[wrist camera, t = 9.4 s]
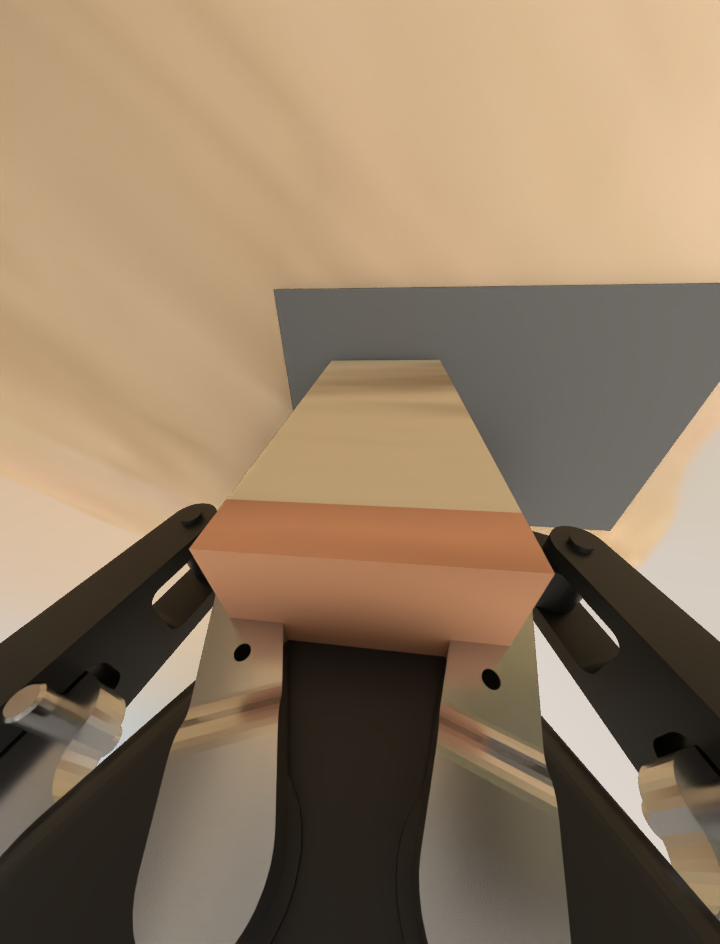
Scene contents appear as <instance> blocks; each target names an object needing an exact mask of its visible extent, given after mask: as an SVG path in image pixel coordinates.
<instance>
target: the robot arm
mask: <svg viewBox="0 0 720 944" xmlns="http://www.w3.org/2000/svg"><path fill="white" fill-rule="evenodd" d="M216 513H217V510H216V508H215V507H214V506H213V505H210V504H204V503H203V504H195V505H191V506H188V507H186V508H183V509H181V510H180V511H178V512H177V513H175V514H174V515H173V516H171V517H170V518H168V519H167V520H166V521H164V522H163V523H162V524H160V525H159V526H158V527H156V528H155V529H154V530H152V531H151V532H150V533H148V534H147V535H146V536H144V537H143V538H142V539H140V540H139V541H137V542H136V543H135V544H133V545H132V546H131V547H129V548H128V549H127V550H125V551H124V552H123V553H121V554H120V555H119V556H117V557H116V558H115V559H113V560H112V561H111V562H109V563H108V564H107V565H105V566H104V567H103V568H101V569H100V570H98V571H97V572H96V573H95V574H93V575H92V576H90V577H89V578H88V579H86V580H85V581H84V582H82V583H81V584H80V585H78V586H77V587H76V588H74V589H73V590H72V591H70V592H69V593H67V594H66V595H65V596H63V597H62V598H61V599H59V600H58V601H57V602H55V603H54V604H53V605H51V606H50V607H49V608H47V609H46V610H45V611H43V612H42V613H41V614H39V615H38V616H36V617H35V618H34V619H33V620H31V621H30V622H29V623H27V624H26V625H24V626H23V627H22V628H20V629H19V630H18V631H16V632H15V633H14V634H12V635H11V636H10V637H8V638H7V639H6V640H4V641H3V642H2V643H0V944H720V642H719V641H718V640H717V639H716V638H715V637H714V636H712V635H711V634H710V633H709V632H708V631H706V630H705V629H704V628H703V627H702V626H701V625H700V624H698V623H697V622H696V621H695V620H694V619H693V618H691V617H690V616H689V615H688V614H687V613H685V612H684V611H683V610H682V609H681V608H680V607H679V606H677V605H676V604H675V603H674V602H673V601H672V600H670V599H669V598H668V597H667V596H666V595H665V594H664V593H662V592H661V591H660V590H659V589H657V588H656V587H655V586H654V585H653V584H652V583H651V582H650V581H648V580H647V579H646V578H645V577H644V576H642V575H641V574H640V573H639V572H638V571H637V570H636V569H634V568H633V567H632V566H631V565H630V564H629V563H627V562H626V561H625V560H624V559H623V558H622V557H620V556H619V555H618V554H617V553H616V552H615V551H613V550H612V549H611V548H610V547H609V546H608V545H606V544H605V543H604V542H603V541H602V540H601V539H599V538H598V537H596V536H595V535H593V534H591V533H589V532H587V531H585V530H583V529H580V528H576V527H572V526H559V527H556V528H554V529H553V530H552V531H551V533H550V535H549V536H548V535H544V534H541V533H537V532H534V531H532V532H533V534H534V536H535V538H536V540H537V541H538V543H539V545H540V547H541V549H542V551H543V553H544V554H545V556H546V558H547V560H548V562H549V564H550V566H551V567H552V569H553V571H554V573H555V574H554V576H553V578H552V579H551V581H550V582H549V584H548V586H547V587H546V589H545V591H544V592H543V594H542V595H541V597H540V599H539V600H538V602H537V603H536V605H535V607H534V608H533V610H532V611H531V613H530V615H529V616H528V618H527V619H526V621H525V623H524V624H523V626H522V627H521V629H520V631H519V632H518V634H517V636H516V637H515V639H514V640H513V642H512V644H511V645H510V646H504V645H494V644H484V643H475V642H465V641H455V640H450V642H449V645H448V648H447V650H446V653H445V657H443V656H434V655H425V654H415V653H406V652H397V651H388V650H378V649H369V648H360V647H351V646H341V645H332V644H323V643H314V642H304V641H295V640H288V635H287V632H286V629H285V627H284V624H283V623H279V622H270V621H260V620H250V619H240V618H231V617H229V616H228V614H227V613H226V611H225V609H224V607H223V606H222V604H221V602H220V601H219V599H218V597H217V596H216V594H215V592H214V591H213V589H212V587H211V586H210V584H209V582H208V581H207V579H206V577H205V575H204V574H203V572H202V570H201V569H200V567H199V565H198V564H197V562H196V560H195V559H194V557H193V555H192V554H191V552H190V550H189V548H190V547H191V546H192V544H193V543H194V542H195V540H196V539H197V538H198V536H199V535H200V534H201V532H202V531H203V530H204V528H205V527H206V526H207V524H208V523H209V522H210V520H211V519H212V518H213V516H214V515H215V514H216ZM186 563H187V564H188V566H189V567H190V570H189V571H188V572H187V573H186V574H185V575H184V576H183V577H182V578H181V579H180V580H178V581H177V582H176V583H175V584H174V585H173V586H172V587H171V588H170V589H169V590H168V591H167V592H166V593H165V594H164V595H163V596H162V597H161V598H160V599H159V600H158V601H157V602H156V603H155V604H153V605H152V600H153V597H154V595H155V593H156V592H157V591H158V590H159V589H160V588H161V587H162V586H163V585H164V584H165V583H166V582H167V581H168V580H169V579H170V578H171V577H172V576H173V575H175V574H176V573H177V571H179V570H180V569H181V568H182V567H183V566H184V565H185V564H186ZM582 598H583V599H584V600H585V601H586V602H587V604H588V605H589V606H590V607H591V608H592V609H593V610H594V611H595V612H596V614H597V615H598V616H599V617H600V618H601V619H602V620H603V621H604V623H605V624H606V625H607V626H608V627H609V628H610V629H611V631H612V632H613V633H614V635H615V636H616V638H617V640H618V642H619V646H620V648H619V647H618V646H617V645H616V644H615V643H614V641H613V640H612V639H611V638H610V637H609V636H608V635H607V633H606V632H605V631H604V630H603V629H602V628H601V627H600V625H599V624H598V623H597V622H596V621H595V620H594V619H593V617H592V616H591V615H590V614H589V613H588V612H587V610H586V609H585V608H584V607H583V606H582V605H581V604H580V600H581V599H582ZM212 607H213V608H212ZM211 608H212V613H211V617H210V621H209V625H208V630H207V634H206V638H205V643H204V647H203V651H202V656H201V660H200V665H199V669H198V673H197V677H196V680H195V681H194V682H193V683H192V684H191V685H190V686H188V687H187V688H186V689H185V690H184V691H183V692H182V693H180V694H179V695H178V696H177V697H176V698H175V699H173V701H171V702H170V703H169V704H168V705H167V706H165V707H164V708H163V709H162V710H161V711H160V712H159V713H158V714H156V715H155V716H154V717H153V718H152V719H151V720H149V721H148V722H147V723H146V724H145V725H144V726H143V727H141V728H140V729H139V730H138V731H137V732H136V733H135V734H133V735H132V736H131V737H130V738H129V739H128V740H127V741H125V742H124V743H123V744H122V745H121V746H120V747H119V748H118V749H116V750H115V751H114V752H113V753H112V754H111V755H109V756H108V757H107V758H106V759H105V760H104V761H102V762H101V763H100V764H99V765H98V766H97V764H98V762H99V760H100V758H101V757H103V756H105V755H107V754H108V753H109V752H110V751H112V750H113V748H114V747H115V746H116V745H117V743H118V742H119V740H120V737H121V735H122V727H121V724H122V722H123V719H124V715H125V709H126V707H127V706H128V705H129V704H130V703H131V701H132V700H133V699H134V698H135V697H136V696H137V694H138V693H139V692H140V691H141V690H142V688H143V687H144V686H145V685H146V684H147V682H149V680H150V679H151V678H152V677H153V676H154V674H155V673H156V672H157V671H158V670H159V669H160V667H161V666H162V665H163V664H164V663H165V661H166V660H167V659H168V658H169V657H170V656H171V655H172V653H173V652H174V651H175V650H176V649H177V648H178V646H179V645H180V644H181V643H182V642H183V641H184V639H185V638H186V637H187V636H188V635H189V634H190V632H191V631H192V630H193V629H194V628H195V627H196V625H197V624H198V623H199V622H200V621H201V620H202V618H203V617H204V616H205V615H206V614H207V612H208V611H209V610H210V609H211ZM533 621H534V622H535V624H536V625H537V627H538V628H539V629H540V631H541V632H542V634H543V635H544V637H545V638H546V640H547V641H548V643H549V644H550V645H551V647H552V648H553V650H554V651H555V653H556V654H557V656H558V657H559V658H560V660H561V661H562V663H563V664H564V666H565V667H566V669H567V670H568V672H569V673H570V674H571V676H572V677H573V679H574V680H575V682H576V683H577V685H578V686H579V687H580V689H581V690H582V692H583V693H584V695H585V696H586V697H587V699H588V700H589V702H590V703H591V705H592V706H593V708H594V709H595V711H596V712H597V713H598V715H599V716H600V718H601V719H602V721H603V722H604V724H605V725H606V727H607V728H608V729H609V731H610V732H611V734H612V735H613V737H614V738H615V739H616V741H617V742H618V744H619V745H620V747H621V748H622V750H623V751H624V753H625V754H626V756H627V757H628V758H629V760H630V761H631V763H632V764H633V766H634V767H635V769H636V770H637V771H638V773H639V777H638V783H639V790H640V794H641V797H642V800H643V801H642V812H643V815H644V817H645V819H646V821H647V823H648V825H649V826H650V828H651V829H652V830H653V832H654V833H655V834H656V835H657V836H658V837H659V838H660V839H662V840H663V842H664V844H665V847H666V849H667V852H668V855H669V858H670V860H671V865H672V866H671V865H670V863H669V862H668V861H667V860H666V859H665V858H664V856H663V855H662V854H661V853H660V852H659V851H658V849H657V848H656V847H655V846H654V845H653V844H652V843H651V841H650V840H649V839H648V838H647V837H646V836H645V835H644V833H643V832H642V831H641V830H640V829H639V828H638V826H637V825H636V824H635V823H634V822H633V821H632V820H631V818H630V817H629V816H628V815H627V814H626V813H625V812H624V811H623V809H622V808H621V807H620V806H619V805H618V803H617V802H616V801H615V800H614V799H613V798H612V796H611V795H610V794H609V793H608V792H607V791H606V790H605V789H604V787H603V786H602V785H601V784H600V783H599V781H598V780H597V779H596V778H595V777H594V776H593V775H592V773H591V772H590V771H589V770H588V769H587V768H586V766H585V765H584V764H583V763H582V762H581V761H580V760H579V758H578V757H577V756H576V755H575V754H574V753H573V752H572V751H571V749H570V748H569V747H568V746H567V745H566V743H565V742H564V741H563V740H562V739H561V738H560V737H559V736H558V734H557V733H556V732H555V731H554V730H553V728H552V727H551V726H550V725H549V724H548V723H547V722H546V720H545V719H544V718H543V717H542V716H541V711H540V699H539V686H538V674H537V662H536V649H535V637H534V624H533ZM96 766H97V767H96Z"/></svg>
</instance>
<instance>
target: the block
mask: <svg viewBox="0 0 720 944" xmlns="http://www.w3.org/2000/svg"><path fill="white" fill-rule="evenodd" d="M189 550H190V552H191V554H192V555H193V557H194V559H195V560H196V562H197V564H198V565H199V567H200V569H201V570H202V572H203V574H204V575H205V577H206V579H207V581H208V582H209V584H210V586H211V587H212V589H213V591H214V592H215V594H216V596H217V597H218V599H219V601H220V602H221V604H222V606H223V607H224V609H225V611H226V613H227V614H228V616H229V617H231V618H240V619H250V620H260V621H270V622H279V623H283V624H284V627H285V629H286V632H287V635H288V640H295V641H304V642H314V643H323V644H332V645H341V646H351V647H360V648H369V649H378V650H388V651H397V652H406V653H415V654H425V655H434V656H443V657H445V653H446V650H447V648H448V645H449V642H450V640H455V641H465V642H475V643H484V644H494V645H504V646H510V645H511V644H512V642H513V640H514V639H515V637H516V636H517V634H518V632H519V631H520V629H521V627H522V626H523V624H524V623H525V621H526V619H527V618H528V616H529V615H530V613H531V611H532V610H533V608H534V607H535V605H536V603H537V602H538V600H539V599H540V597H541V595H542V594H543V592H544V591H545V589H546V587H547V586H548V584H549V582H550V581H551V579H552V578H553V576H554V574H555V573H554V571H553V569H552V567H551V566H550V564H549V562H548V560H547V558H546V556H545V554H544V553H543V551H542V549H541V547H540V545H539V543H538V541H537V540H536V538H535V536H534V534H533V532H532V530H531V528H530V527H529V525H528V523H527V521H526V519H525V517H524V515H523V513H522V512H521V510H520V508H519V506H518V504H517V502H516V500H515V499H514V497H513V495H512V493H511V491H510V489H509V487H508V486H507V484H506V482H505V480H504V478H503V476H502V474H501V473H500V471H499V469H498V467H497V465H496V463H495V461H494V460H493V458H492V456H491V454H490V452H489V450H488V448H487V447H486V445H485V443H484V441H483V439H482V437H481V435H480V434H479V432H478V430H477V428H476V426H475V424H474V422H473V421H472V419H471V417H470V415H469V413H468V411H467V409H466V408H465V406H464V404H463V402H462V400H461V398H460V396H459V395H458V393H457V391H456V389H455V387H454V385H453V383H452V382H451V380H450V378H449V376H448V374H447V372H446V370H445V369H444V367H443V365H442V363H441V361H440V360H348V361H331V362H330V363H329V365H328V366H327V367H326V369H325V370H324V371H323V373H322V374H321V375H320V377H319V378H318V379H317V381H316V382H315V383H314V384H313V386H312V387H311V388H310V390H309V391H308V392H307V394H306V395H305V396H304V398H303V399H302V400H301V402H300V403H299V404H298V406H297V407H296V408H295V410H294V411H293V412H292V414H291V415H290V416H289V417H288V419H287V420H286V421H285V423H284V424H283V425H282V427H281V428H280V429H279V431H278V432H277V433H276V435H275V436H274V437H273V439H272V440H271V441H270V443H269V444H268V445H267V447H266V448H265V449H264V450H263V452H262V453H261V454H260V456H259V457H258V458H257V460H256V461H255V462H254V464H253V465H252V466H251V468H250V469H249V470H248V472H247V473H246V474H245V476H244V477H243V478H242V480H241V481H240V482H239V483H238V485H237V486H236V487H235V489H234V490H233V491H232V493H231V494H230V495H229V497H228V498H227V499H226V501H225V502H224V503H223V505H222V506H221V507H220V509H219V510H218V511H217V513H216V514H215V515H214V516H213V518H212V519H211V520H210V522H209V523H208V524H207V526H206V527H205V528H204V530H203V531H202V532H201V534H200V535H199V536H198V538H197V539H196V540H195V542H194V543H193V544H192V546H191V547H190V548H189Z"/></svg>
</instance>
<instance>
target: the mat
mask: <svg viewBox="0 0 720 944" xmlns="http://www.w3.org/2000/svg"><path fill="white" fill-rule="evenodd" d="M274 295H275V301H276V308H277V314H278V320H279V326H280V332H281V338H282V344H283V351H284V357H285V363H286V369H287V375H288V381H289V388H290V394H291V400H292V406H293V411H294V410H295V408H296V407H297V406H298V404H299V403H300V402H301V400H302V399H303V398H304V396H305V395H306V394H307V392H308V391H309V390H310V388H311V387H312V386H313V384H314V383H315V382H316V381H317V379H318V378H319V377H320V375H321V374H322V373H323V371H324V370H325V369H326V367H327V366H328V365H329V363H330V362H331V361H348V360H440V361H441V363H442V365H443V367H444V369H445V370H446V372H447V374H448V376H449V378H450V380H451V382H452V383H453V385H454V387H455V389H456V391H457V393H458V395H459V396H460V398H461V400H462V402H463V404H464V406H465V408H466V409H467V411H468V413H469V415H470V417H471V419H472V421H473V422H474V424H475V426H476V428H477V430H478V432H479V434H480V435H481V437H482V439H483V441H484V443H485V445H486V447H487V448H488V450H489V452H490V454H491V456H492V458H493V460H494V461H495V463H496V465H497V467H498V469H499V471H500V473H501V474H502V476H503V478H504V480H505V482H506V484H507V486H508V487H509V489H510V491H511V493H512V495H513V497H514V499H515V500H516V502H517V504H518V506H519V508H520V510H521V512H522V513H523V515H524V517H525V519H526V521H527V523H528V525H529V526H539V527H555V528H556V527H559V526H572V527H576V528H580V529H589V530H605V531H610V530H611V529H612V528H613V526H614V525H615V523H616V522H617V521H618V519H619V518H620V517H621V515H622V514H623V513H624V511H625V510H626V508H627V507H628V506H629V504H630V503H631V502H632V500H633V499H634V498H635V496H636V495H637V493H638V492H639V491H640V489H641V488H642V487H643V485H644V484H645V483H646V481H647V480H648V478H649V477H650V476H651V474H652V473H653V472H654V470H655V469H656V468H657V466H658V465H659V463H660V462H661V461H662V459H663V458H664V457H665V455H666V454H667V452H668V451H669V450H670V448H671V447H672V446H673V444H674V443H675V442H676V440H677V439H678V437H679V436H680V435H681V433H682V432H683V431H684V429H685V428H686V427H687V425H688V424H689V422H690V421H691V420H692V418H693V417H694V416H695V414H696V413H697V412H698V410H699V409H700V407H701V406H702V405H703V403H704V402H705V401H706V399H707V398H708V397H709V395H710V394H711V392H712V391H713V390H714V388H715V387H716V386H717V384H718V383H719V382H720V283H698V284H626V285H554V286H483V287H411V288H339V289H276V290H274Z"/></svg>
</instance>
